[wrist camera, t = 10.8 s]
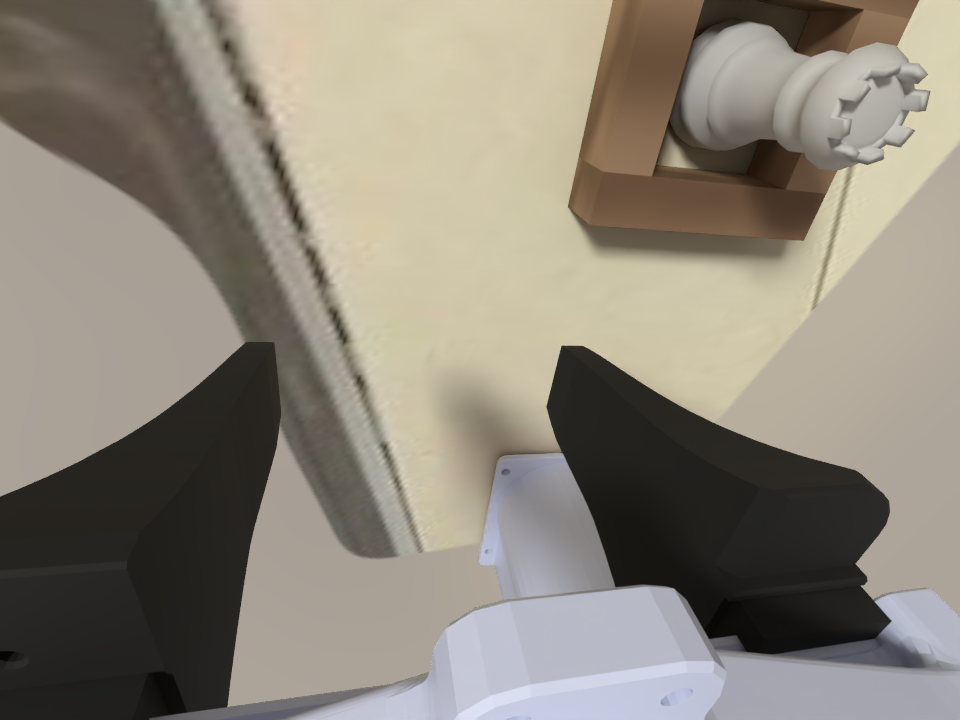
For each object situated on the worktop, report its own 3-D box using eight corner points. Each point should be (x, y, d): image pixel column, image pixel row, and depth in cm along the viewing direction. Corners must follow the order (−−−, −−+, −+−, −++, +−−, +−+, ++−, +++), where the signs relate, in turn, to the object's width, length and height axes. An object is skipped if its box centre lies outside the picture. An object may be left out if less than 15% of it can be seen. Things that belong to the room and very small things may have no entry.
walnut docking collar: (765, 222, 24) (803, 240, 22) (568, 206, 22) (589, 225, 19) (881, -46, 19) (945, -55, 17) (636, -104, 16) (675, -123, 14)
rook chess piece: (785, 79, 20) (985, 103, 14) (699, 169, 22) (844, 230, 15) (730, -12, 18) (936, -34, 12) (638, 94, 20) (777, 128, 13)
